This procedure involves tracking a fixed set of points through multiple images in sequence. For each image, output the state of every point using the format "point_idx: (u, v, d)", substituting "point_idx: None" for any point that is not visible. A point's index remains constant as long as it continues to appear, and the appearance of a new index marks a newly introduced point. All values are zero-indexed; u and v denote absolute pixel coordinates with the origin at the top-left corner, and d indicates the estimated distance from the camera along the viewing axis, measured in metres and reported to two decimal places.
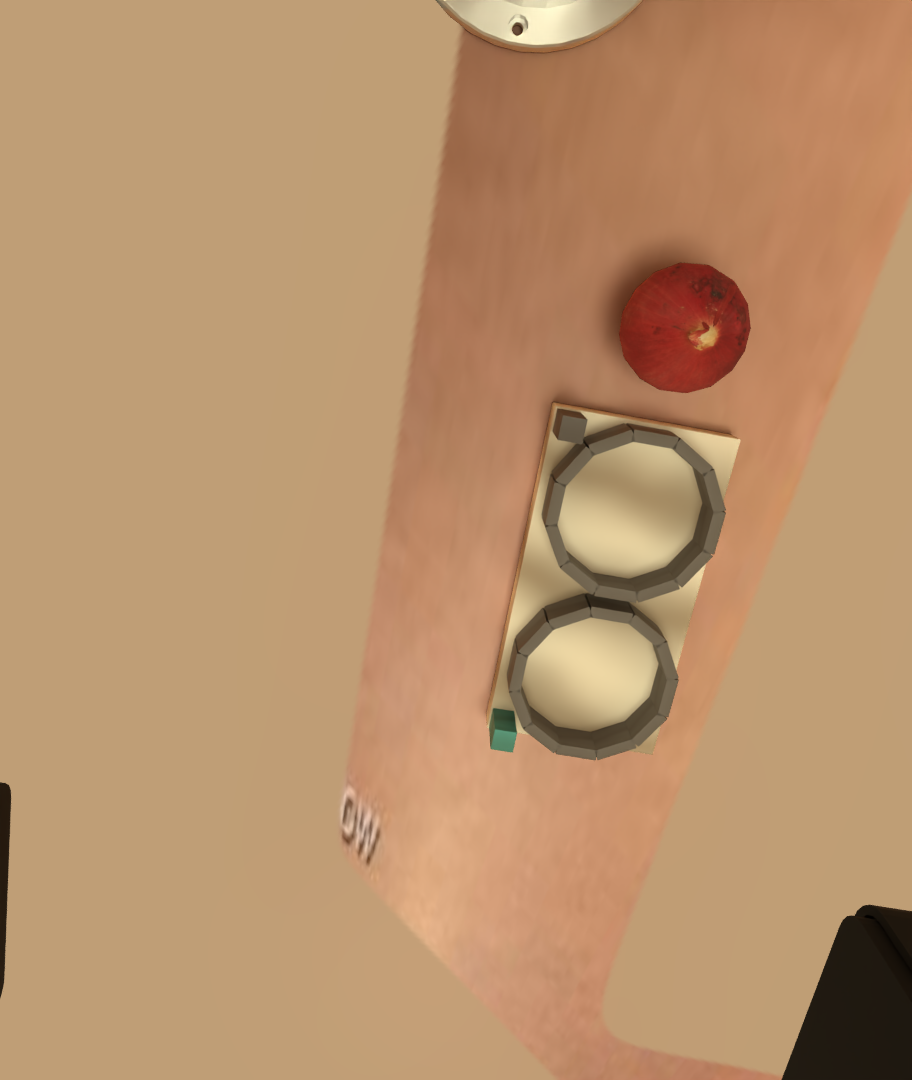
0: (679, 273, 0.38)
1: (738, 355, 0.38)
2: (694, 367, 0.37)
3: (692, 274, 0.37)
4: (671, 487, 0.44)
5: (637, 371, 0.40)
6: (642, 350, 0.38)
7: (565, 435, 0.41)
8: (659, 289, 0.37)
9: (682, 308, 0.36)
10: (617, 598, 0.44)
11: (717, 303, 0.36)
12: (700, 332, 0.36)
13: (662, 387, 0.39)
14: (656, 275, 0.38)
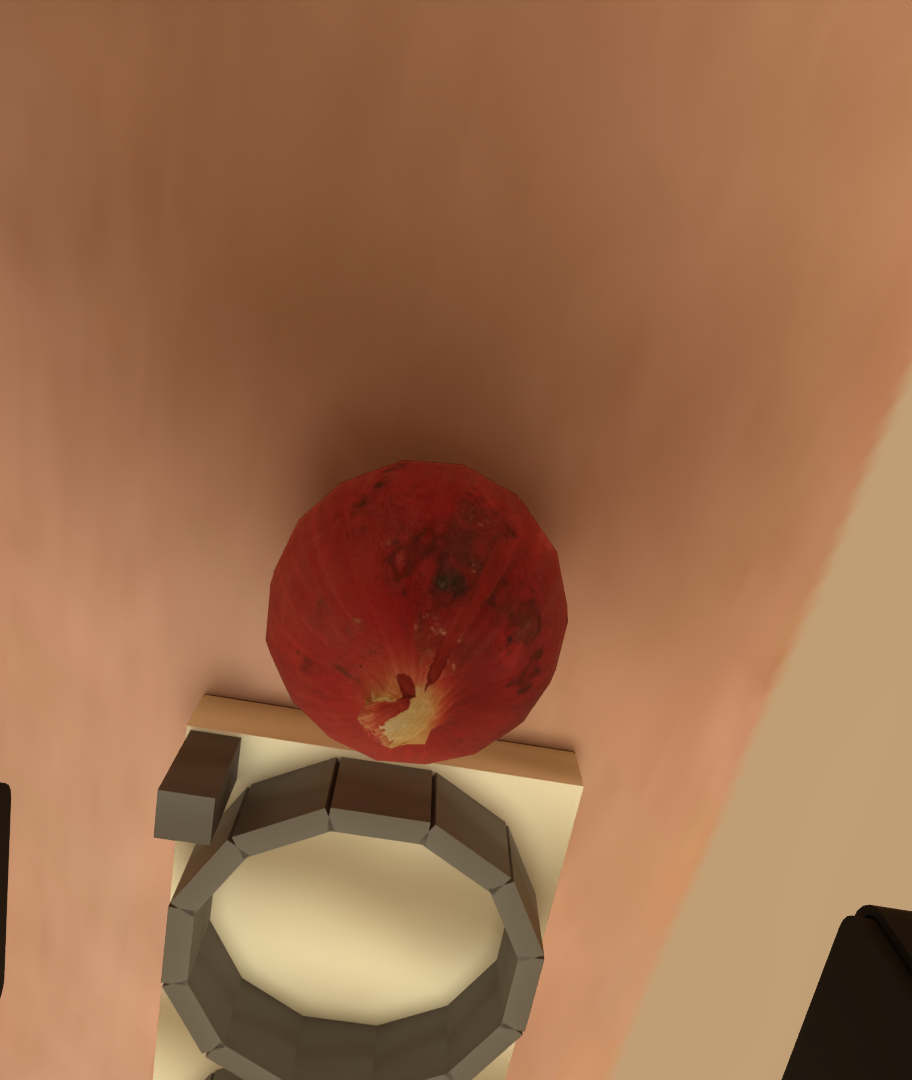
0: (373, 507, 0.15)
1: (528, 704, 0.15)
2: (407, 752, 0.15)
3: (400, 517, 0.15)
4: (446, 872, 0.21)
5: None
6: (292, 691, 0.15)
7: (169, 828, 0.18)
8: (318, 553, 0.15)
9: (356, 623, 0.14)
10: None
11: (447, 611, 0.14)
12: (385, 713, 0.13)
13: None
14: (330, 501, 0.16)
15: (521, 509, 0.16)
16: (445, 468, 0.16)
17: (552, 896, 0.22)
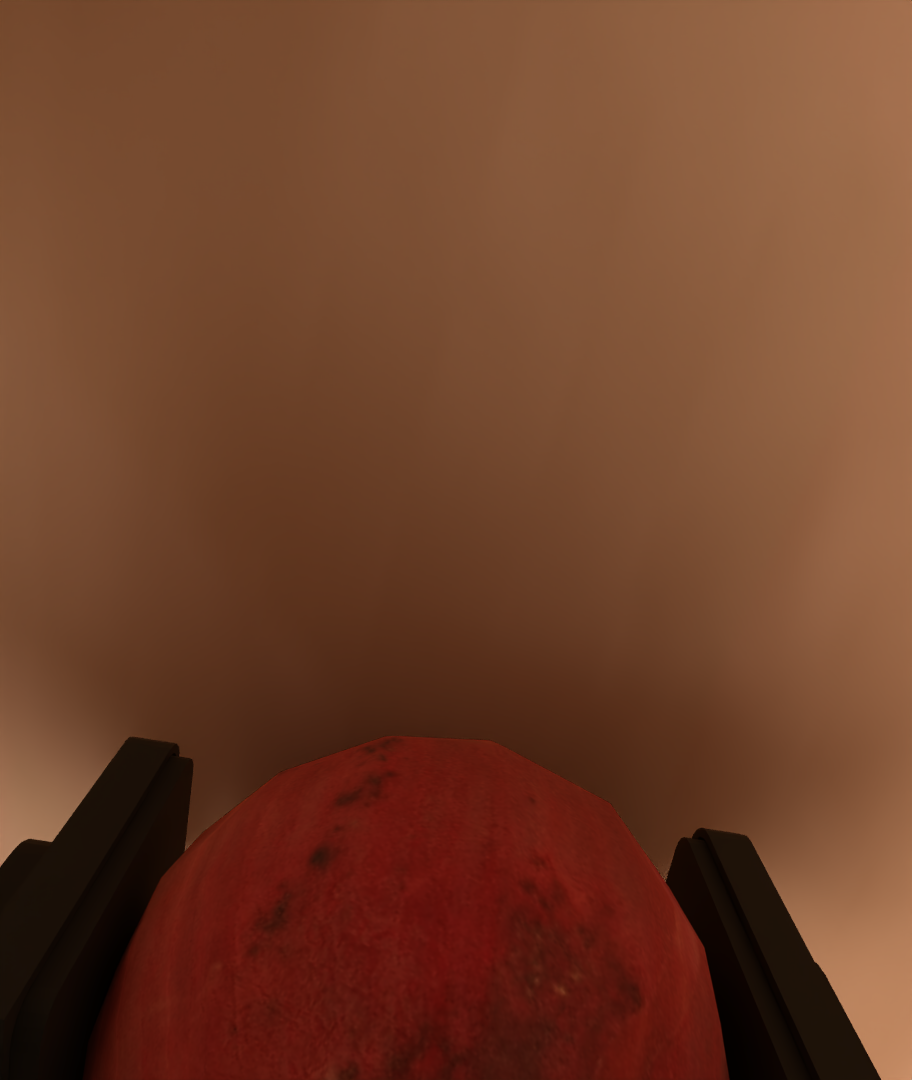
0: (299, 940, 0.06)
1: None
2: None
3: (364, 985, 0.06)
4: None
5: None
6: None
7: None
8: (163, 1064, 0.06)
9: None
10: None
11: None
12: None
13: None
14: (213, 883, 0.07)
15: (638, 887, 0.07)
16: (471, 790, 0.07)
17: None
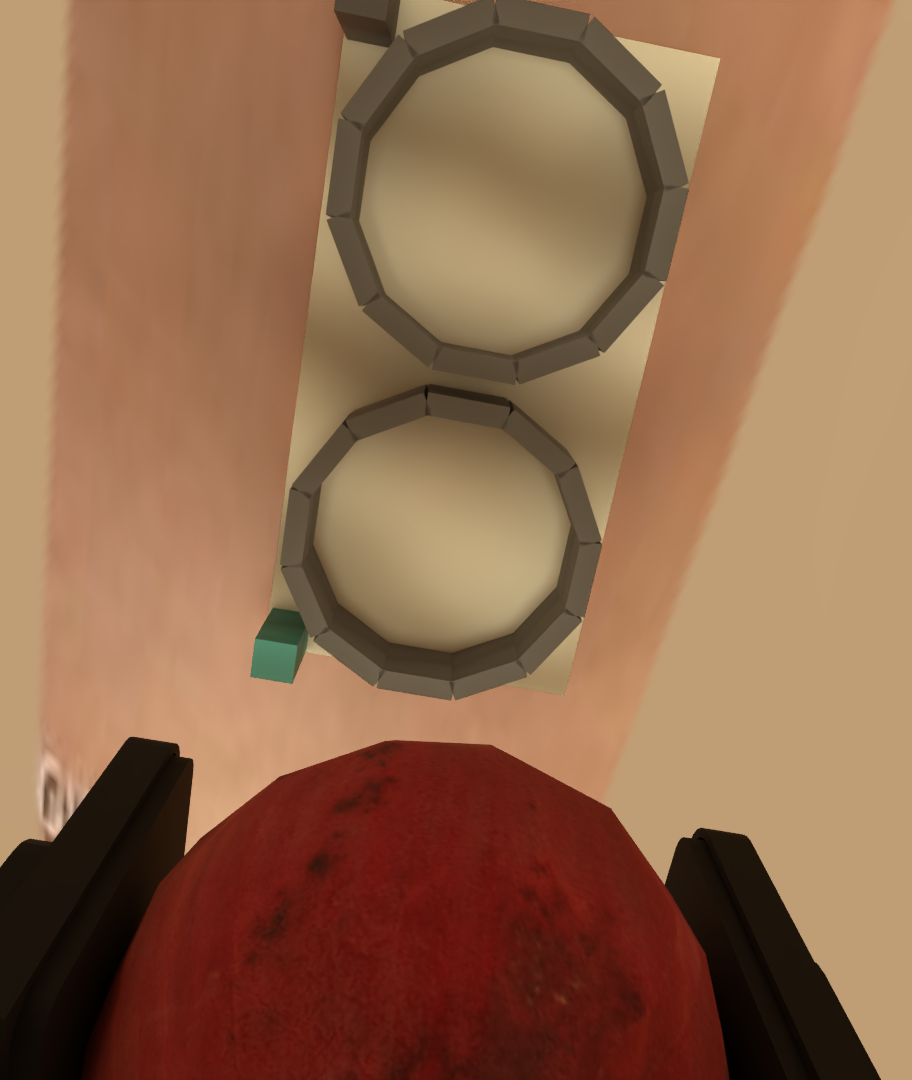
0: (298, 949, 0.06)
1: None
2: None
3: (364, 993, 0.06)
4: (586, 163, 0.23)
5: None
6: None
7: None
8: (160, 1075, 0.06)
9: None
10: (478, 375, 0.22)
11: None
12: None
13: None
14: (211, 890, 0.07)
15: (640, 894, 0.07)
16: (471, 796, 0.07)
17: None
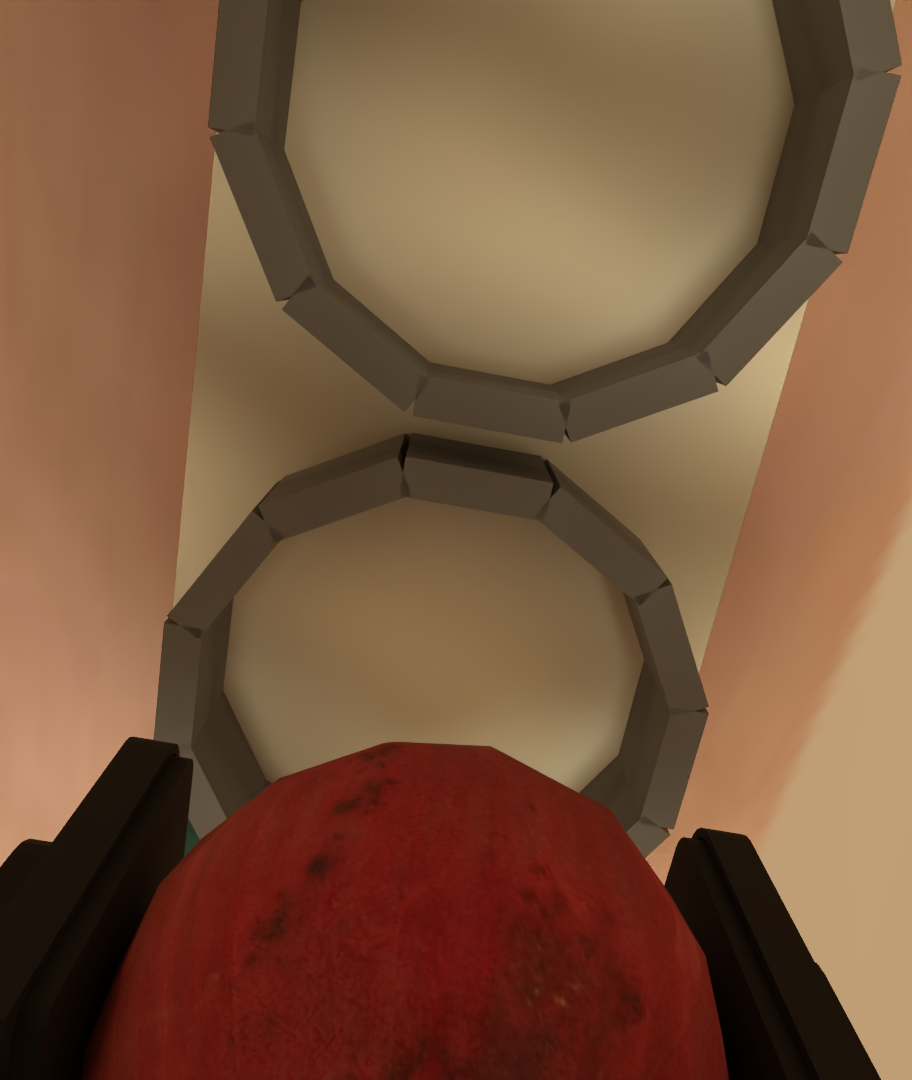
0: (298, 951, 0.06)
1: None
2: None
3: (364, 994, 0.06)
4: (688, 44, 0.13)
5: None
6: None
7: None
8: (160, 1076, 0.06)
9: None
10: (495, 426, 0.12)
11: None
12: None
13: None
14: (211, 891, 0.07)
15: (639, 896, 0.07)
16: (470, 798, 0.07)
17: None
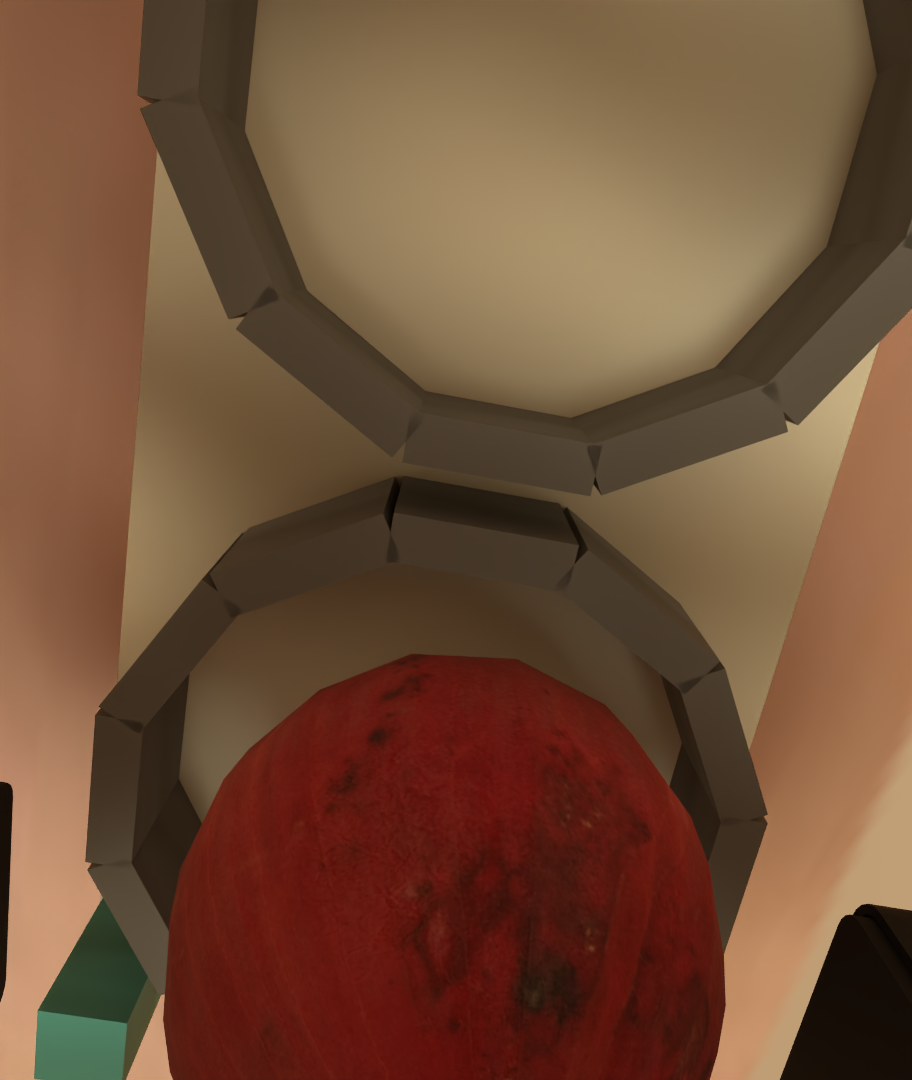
0: (370, 796, 0.07)
1: None
2: None
3: (430, 824, 0.07)
4: None
5: None
6: None
7: None
8: (261, 904, 0.07)
9: None
10: (507, 475, 0.10)
11: (549, 1063, 0.06)
12: None
13: None
14: (283, 766, 0.08)
15: (638, 758, 0.09)
16: (495, 684, 0.09)
17: None
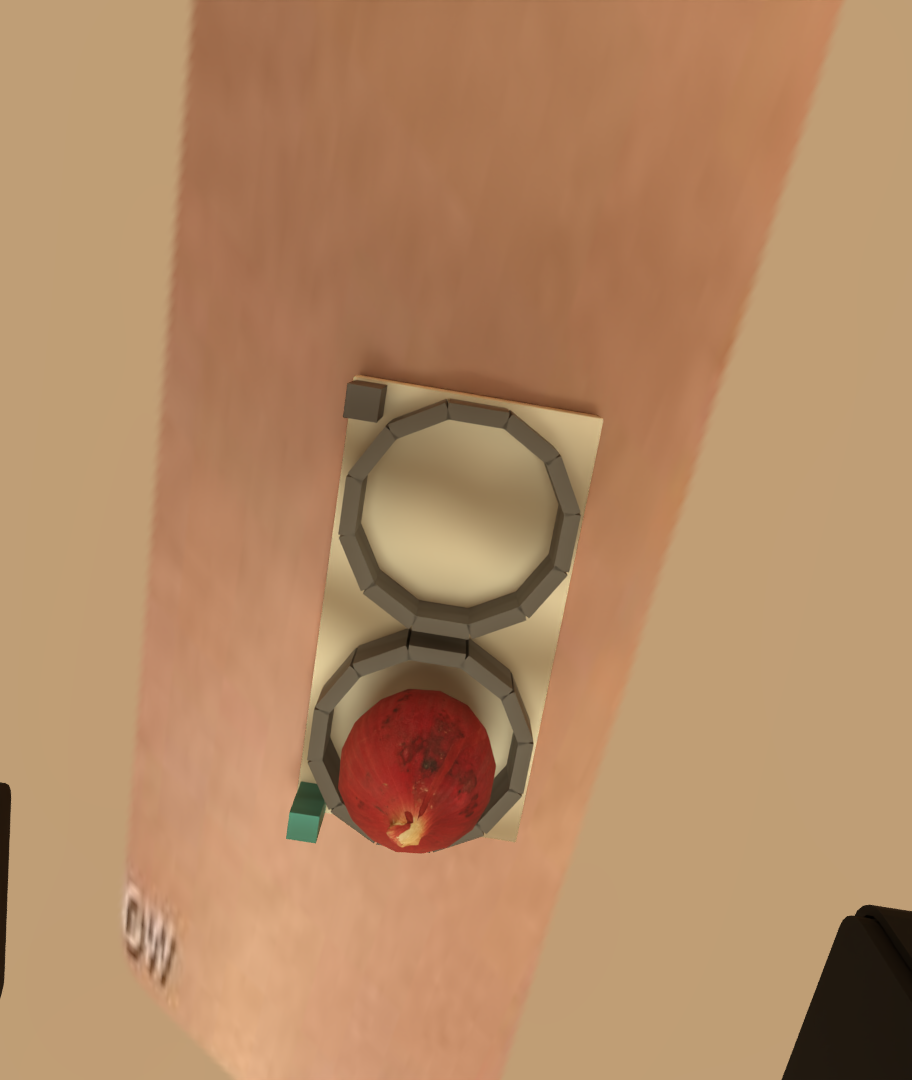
0: (392, 724, 0.30)
1: (473, 821, 0.30)
2: (411, 847, 0.29)
3: (406, 730, 0.30)
4: (516, 484, 0.33)
5: None
6: (352, 816, 0.30)
7: (353, 411, 0.30)
8: (365, 748, 0.30)
9: (385, 785, 0.29)
10: (443, 633, 0.32)
11: (428, 779, 0.29)
12: (399, 830, 0.28)
13: None
14: (371, 718, 0.31)
15: (468, 719, 0.31)
16: (429, 697, 0.31)
17: (585, 503, 0.33)
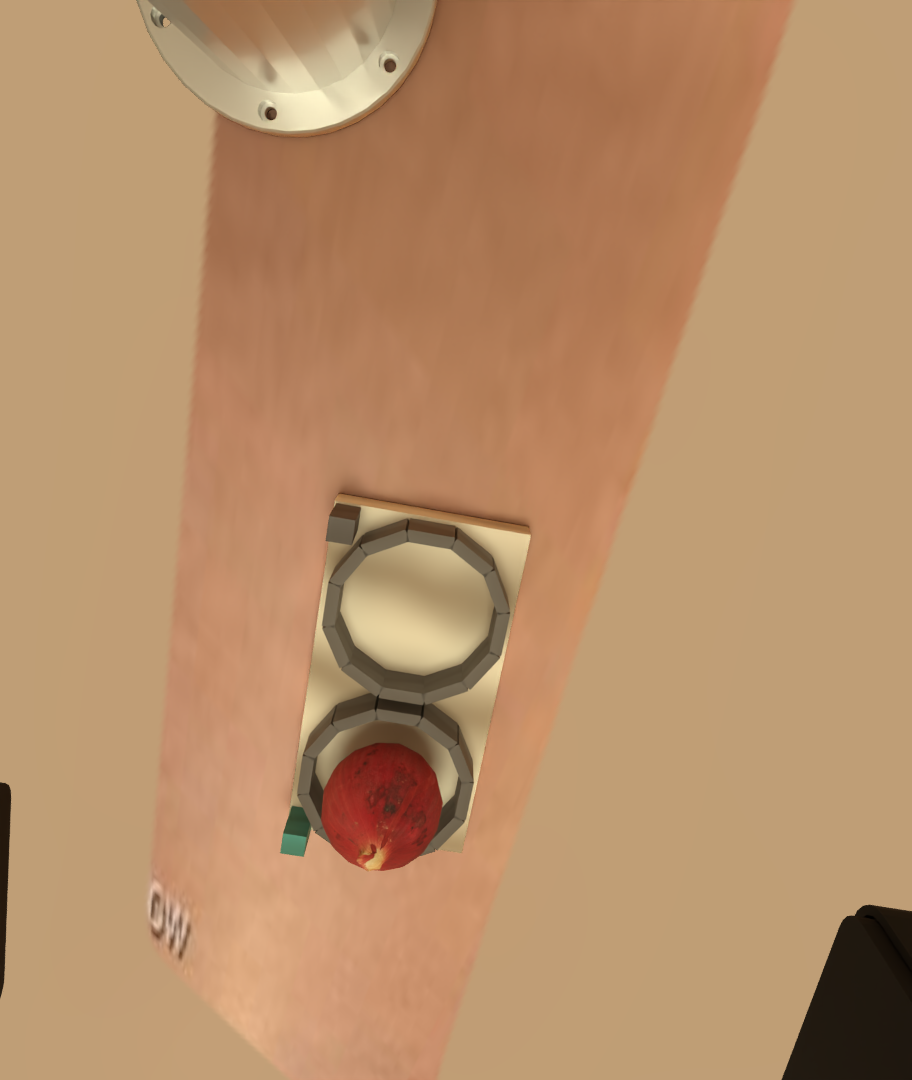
0: (362, 775, 0.39)
1: (423, 847, 0.40)
2: None
3: (372, 780, 0.39)
4: (462, 583, 0.42)
5: None
6: (331, 843, 0.40)
7: (333, 536, 0.39)
8: (342, 793, 0.39)
9: (356, 824, 0.38)
10: (403, 700, 0.42)
11: (388, 819, 0.38)
12: (365, 859, 0.37)
13: None
14: (346, 768, 0.40)
15: (421, 769, 0.40)
16: (391, 752, 0.40)
17: (516, 598, 0.42)
